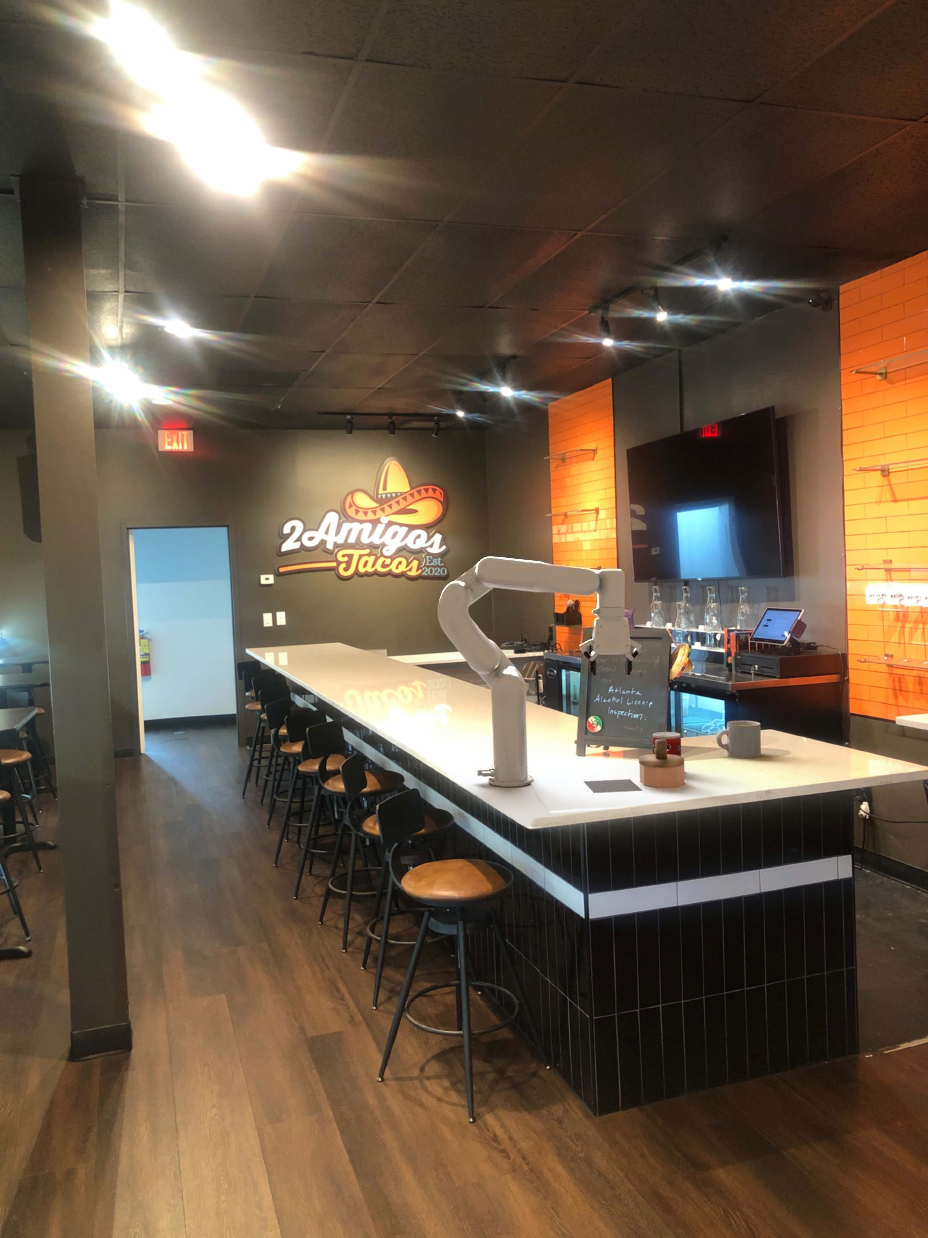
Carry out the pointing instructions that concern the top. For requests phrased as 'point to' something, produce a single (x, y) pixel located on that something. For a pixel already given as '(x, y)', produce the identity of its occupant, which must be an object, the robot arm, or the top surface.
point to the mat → (612, 786)
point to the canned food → (669, 742)
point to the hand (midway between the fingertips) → (610, 674)
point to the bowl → (662, 776)
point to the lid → (661, 757)
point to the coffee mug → (741, 739)
